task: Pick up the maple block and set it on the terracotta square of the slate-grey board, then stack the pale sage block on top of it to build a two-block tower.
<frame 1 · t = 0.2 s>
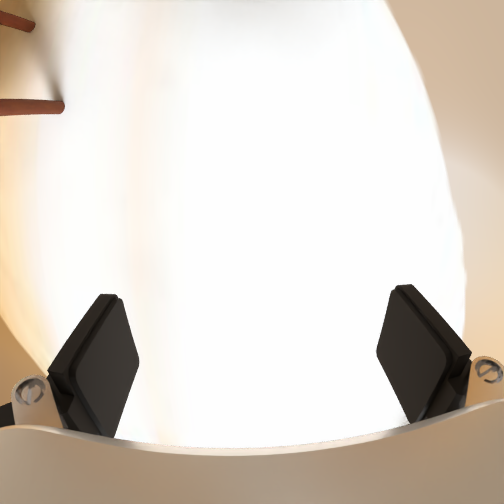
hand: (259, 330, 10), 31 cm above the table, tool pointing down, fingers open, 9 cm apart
plant pot with stand: (7, 99, 31), on the table
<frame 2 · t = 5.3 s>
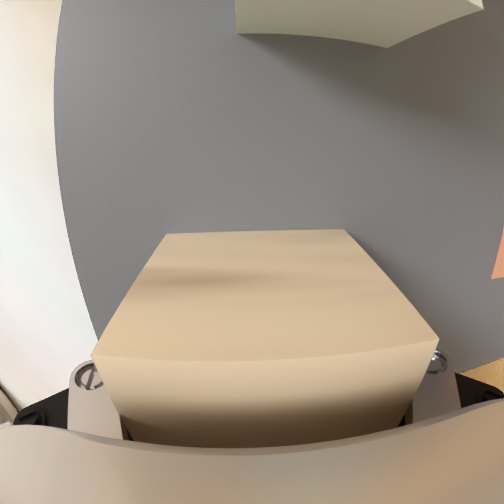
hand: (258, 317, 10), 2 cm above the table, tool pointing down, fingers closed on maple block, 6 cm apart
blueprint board: (446, 176, 10), on the table
maple block: (257, 308, 11), point 1 cm above the table, touching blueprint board, gripper
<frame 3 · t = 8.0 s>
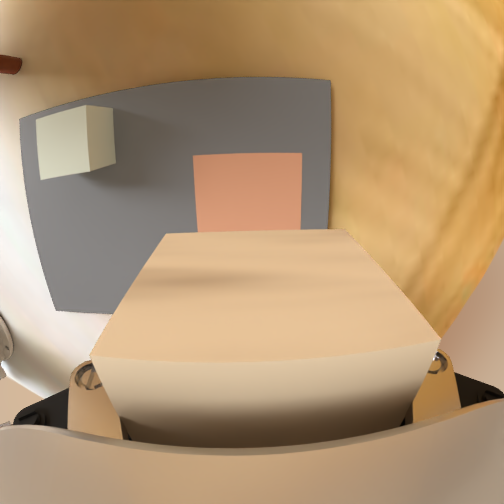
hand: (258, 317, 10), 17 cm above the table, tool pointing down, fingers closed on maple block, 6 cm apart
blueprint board: (160, 206, 26), on the table
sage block: (90, 139, 22), point 1 cm above the table, touching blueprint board
maple block: (257, 308, 11), point 17 cm above the table, touching gripper
when the fingers open (3 cm above the table, at t = 11.0 s): maple block drops 1 cm, resting on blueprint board.
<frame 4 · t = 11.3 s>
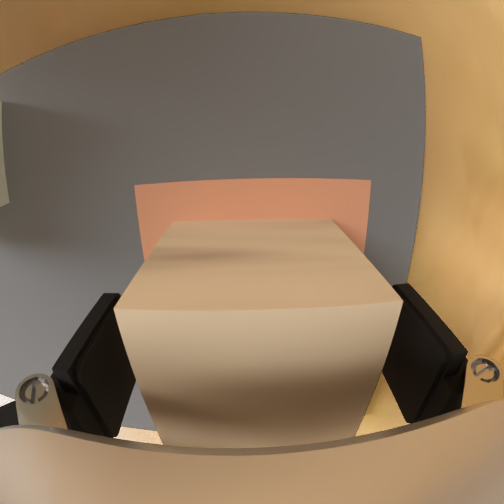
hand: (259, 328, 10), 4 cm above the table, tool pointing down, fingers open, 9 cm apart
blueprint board: (91, 279, 13), on the table
maple block: (253, 289, 12), point 1 cm above the table, touching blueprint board
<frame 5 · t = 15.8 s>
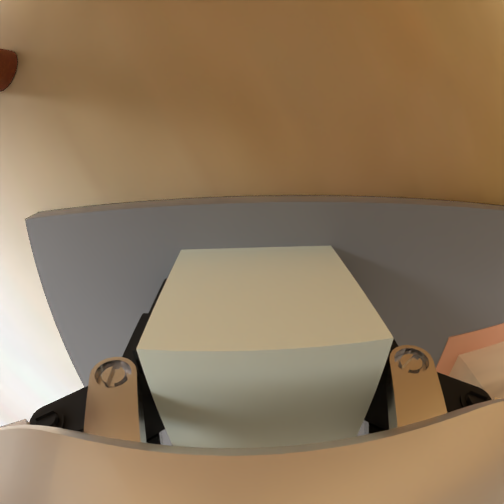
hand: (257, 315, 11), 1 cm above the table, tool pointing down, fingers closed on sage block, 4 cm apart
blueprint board: (364, 395, 15), on the table
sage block: (257, 311, 11), point 1 cm above the table, touching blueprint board, gripper
maple block: (473, 380, 14), point 1 cm above the table, touching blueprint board
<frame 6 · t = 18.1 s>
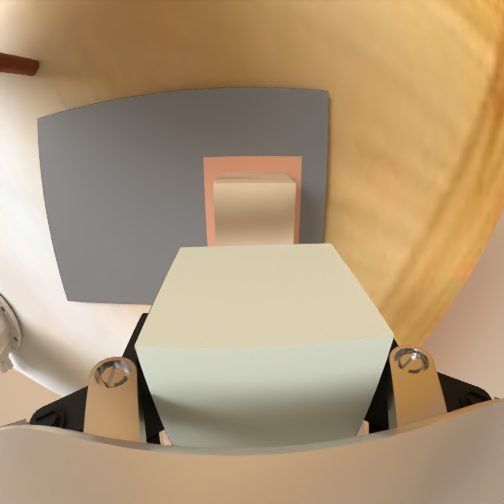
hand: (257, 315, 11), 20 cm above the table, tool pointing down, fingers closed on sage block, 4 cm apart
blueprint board: (171, 203, 29), on the table
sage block: (257, 309, 11), point 20 cm above the table, touching gripper
maple block: (251, 203, 28), point 1 cm above the table, touching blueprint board
when the fingers open (8 cm above the table, at t = 20.6 s): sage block drops 1 cm, resting on maple block.
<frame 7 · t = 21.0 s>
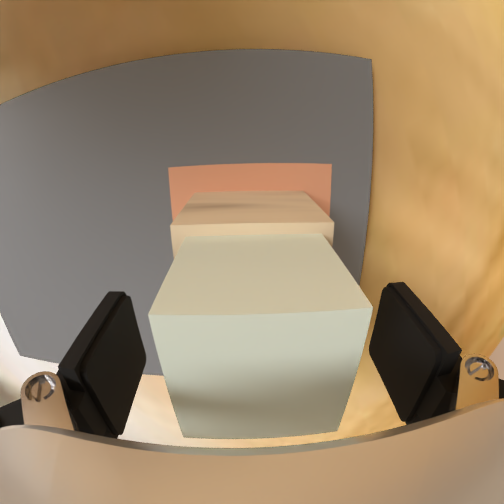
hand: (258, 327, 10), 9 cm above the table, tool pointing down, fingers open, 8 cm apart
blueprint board: (127, 240, 18), on the table
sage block: (254, 294, 12), point 7 cm above the table, touching maple block
maple block: (249, 242, 17), point 1 cm above the table, touching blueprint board, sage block
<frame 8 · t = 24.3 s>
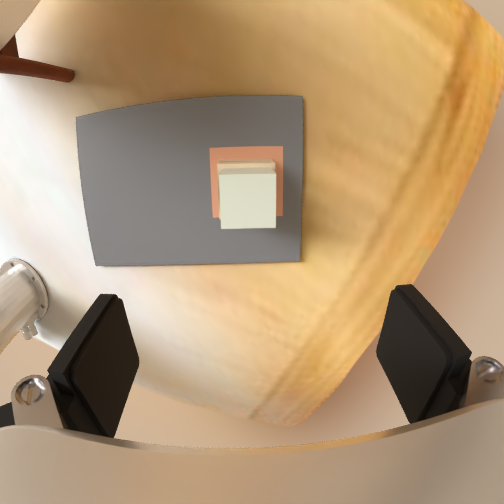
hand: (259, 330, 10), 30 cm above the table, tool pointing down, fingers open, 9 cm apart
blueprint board: (185, 183, 38), on the table
plant pot with stand: (54, 16, 26), on the table
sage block: (247, 191, 31), point 7 cm above the table, touching maple block
maple block: (246, 182, 37), point 1 cm above the table, touching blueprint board, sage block
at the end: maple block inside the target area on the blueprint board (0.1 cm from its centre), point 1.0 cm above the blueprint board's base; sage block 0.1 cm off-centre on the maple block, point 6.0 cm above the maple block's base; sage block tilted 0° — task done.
